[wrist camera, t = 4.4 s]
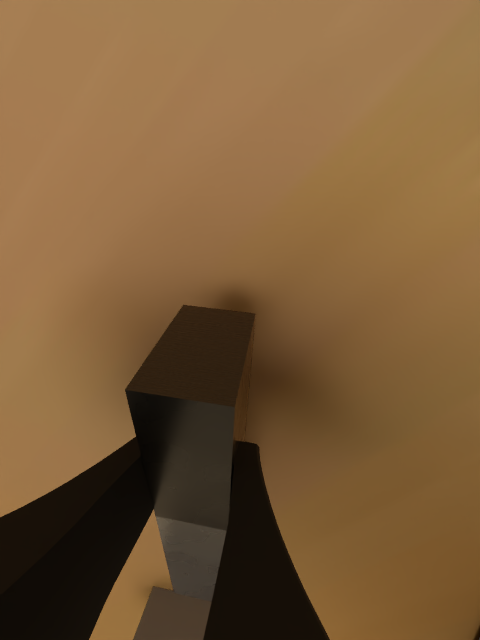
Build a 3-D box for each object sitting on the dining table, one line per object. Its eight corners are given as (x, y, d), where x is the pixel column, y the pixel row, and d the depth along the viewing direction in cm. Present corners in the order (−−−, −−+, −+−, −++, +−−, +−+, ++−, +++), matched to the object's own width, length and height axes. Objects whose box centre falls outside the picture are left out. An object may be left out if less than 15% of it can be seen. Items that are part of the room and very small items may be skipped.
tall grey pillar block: (183, 304, 10) (125, 389, 6) (255, 313, 9) (234, 407, 6) (197, 505, 17) (174, 592, 14) (237, 513, 17) (223, 604, 13)
